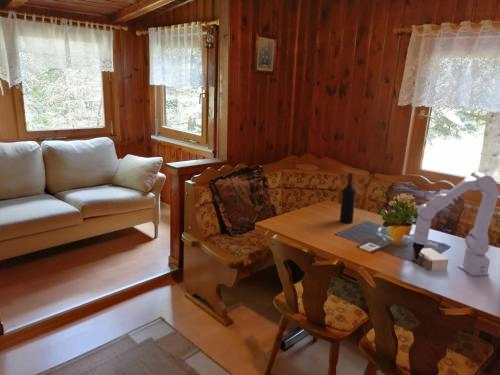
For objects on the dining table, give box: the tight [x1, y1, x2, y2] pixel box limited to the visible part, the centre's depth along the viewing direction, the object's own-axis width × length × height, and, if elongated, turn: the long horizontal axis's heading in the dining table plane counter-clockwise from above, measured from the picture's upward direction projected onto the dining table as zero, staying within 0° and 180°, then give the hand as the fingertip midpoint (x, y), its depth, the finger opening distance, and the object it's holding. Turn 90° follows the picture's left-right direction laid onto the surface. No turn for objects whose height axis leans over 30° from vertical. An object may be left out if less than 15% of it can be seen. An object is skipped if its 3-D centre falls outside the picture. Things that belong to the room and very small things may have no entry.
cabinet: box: [420, 247, 449, 271], centre depth 169 cm, size 12×10×5 cm
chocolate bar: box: [356, 237, 393, 254], centre depth 189 cm, size 9×1×18 cm
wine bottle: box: [339, 172, 356, 225], centre depth 219 cm, size 8×8×30 cm
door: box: [411, 249, 423, 266], centre depth 170 cm, size 8×1×5 cm, turn 2°
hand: (416, 258), depth 168 cm, fingers closed, pressing on door
